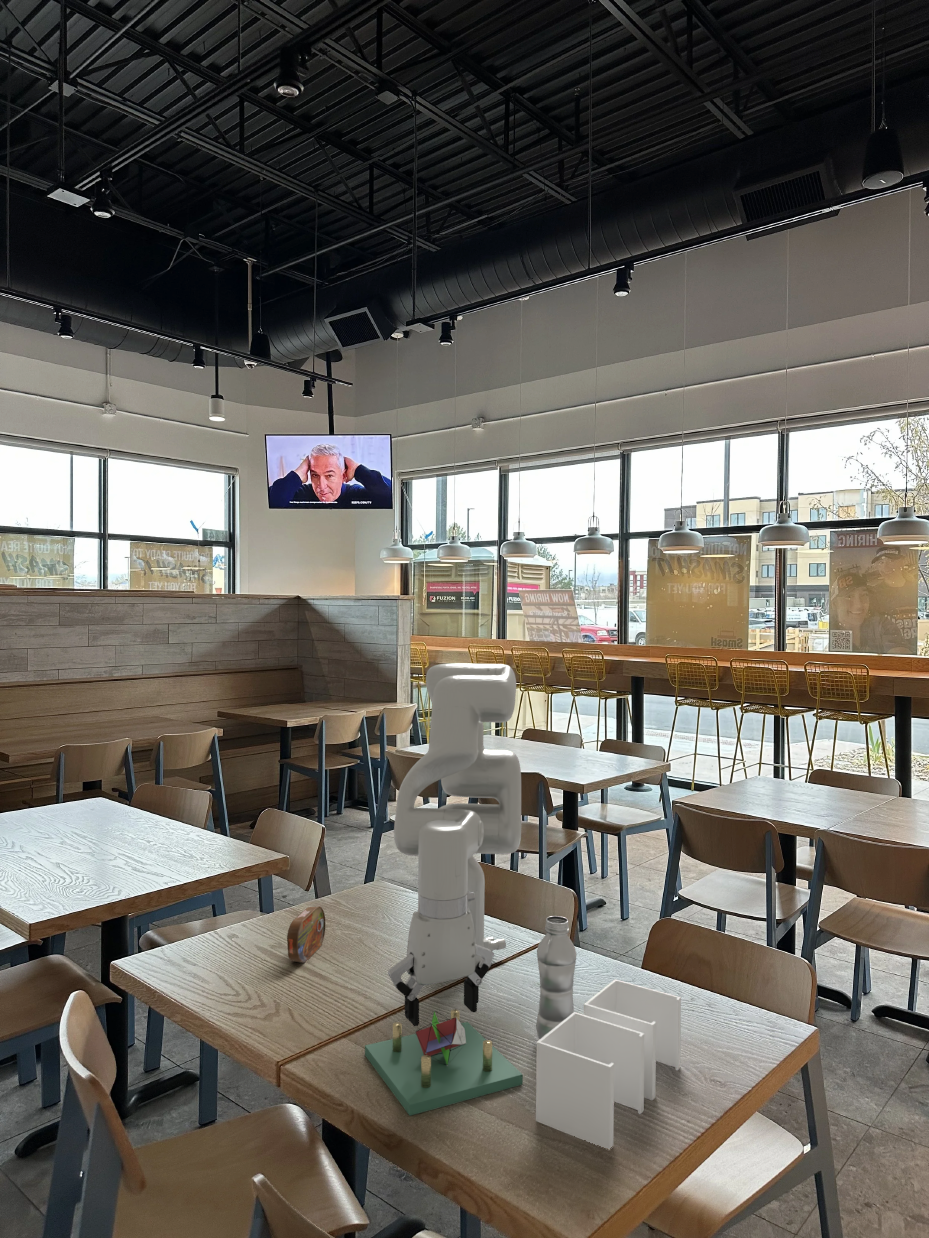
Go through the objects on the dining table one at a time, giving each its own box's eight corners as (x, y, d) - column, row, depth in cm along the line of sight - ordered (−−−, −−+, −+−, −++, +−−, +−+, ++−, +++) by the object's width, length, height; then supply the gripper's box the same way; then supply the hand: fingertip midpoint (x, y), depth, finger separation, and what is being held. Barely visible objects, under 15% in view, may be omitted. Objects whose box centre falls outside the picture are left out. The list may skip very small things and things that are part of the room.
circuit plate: (467, 1030, 141) (467, 1021, 141) (522, 1084, 125) (522, 1074, 125) (364, 1054, 133) (364, 1045, 133) (409, 1115, 116) (409, 1104, 116)
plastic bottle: (548, 1057, 132) (550, 929, 132) (528, 1037, 138) (529, 915, 138) (584, 1049, 135) (585, 924, 135) (562, 1030, 141) (563, 910, 141)
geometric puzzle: (403, 1054, 126) (435, 1012, 125) (409, 1031, 133) (439, 992, 132) (441, 1085, 125) (474, 1043, 125) (445, 1060, 132) (476, 1021, 132)
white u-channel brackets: (614, 1047, 136) (615, 979, 136) (680, 1068, 130) (681, 997, 130) (535, 1122, 116) (536, 1041, 116) (609, 1151, 109) (610, 1067, 109)
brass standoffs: (457, 1033, 137) (457, 1008, 137) (493, 1070, 126) (494, 1043, 126) (391, 1048, 131) (391, 1023, 131) (423, 1088, 120) (423, 1060, 120)
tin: (299, 969, 165) (299, 926, 165) (283, 968, 165) (284, 924, 165) (326, 940, 179) (327, 901, 179) (312, 939, 180) (313, 900, 180)
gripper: (481, 888, 136) (480, 993, 136) (380, 904, 128) (379, 1016, 129) (504, 903, 129) (503, 1013, 130) (399, 921, 121) (398, 1039, 122)
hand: (442, 1015), depth 129 cm, fingers open, 9 cm apart
